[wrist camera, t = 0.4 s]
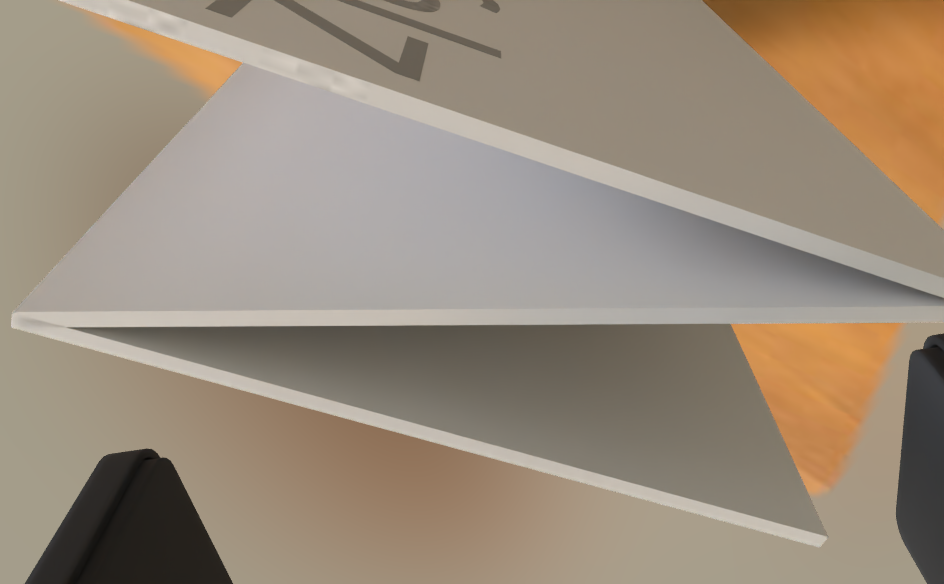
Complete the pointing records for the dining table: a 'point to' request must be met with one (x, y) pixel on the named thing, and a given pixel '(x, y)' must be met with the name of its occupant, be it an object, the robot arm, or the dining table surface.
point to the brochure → (500, 236)
